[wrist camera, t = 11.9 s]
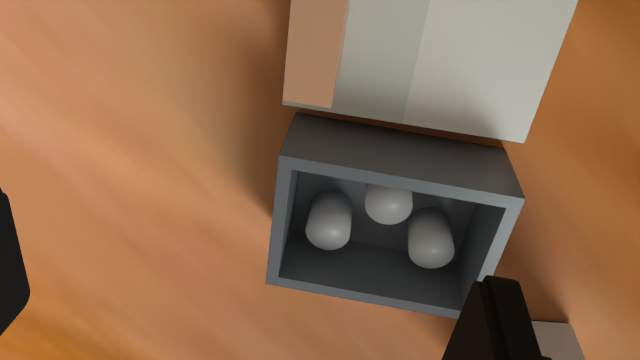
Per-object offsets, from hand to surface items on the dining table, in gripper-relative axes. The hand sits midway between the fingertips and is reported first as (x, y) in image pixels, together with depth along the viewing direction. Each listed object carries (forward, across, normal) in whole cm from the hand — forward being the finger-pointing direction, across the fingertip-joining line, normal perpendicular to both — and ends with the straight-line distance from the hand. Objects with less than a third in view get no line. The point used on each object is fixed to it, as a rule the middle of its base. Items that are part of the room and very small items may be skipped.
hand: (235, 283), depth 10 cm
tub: (+23, -5, +12) cm, 27 cm away
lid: (+22, -5, 0) cm, 23 cm away
